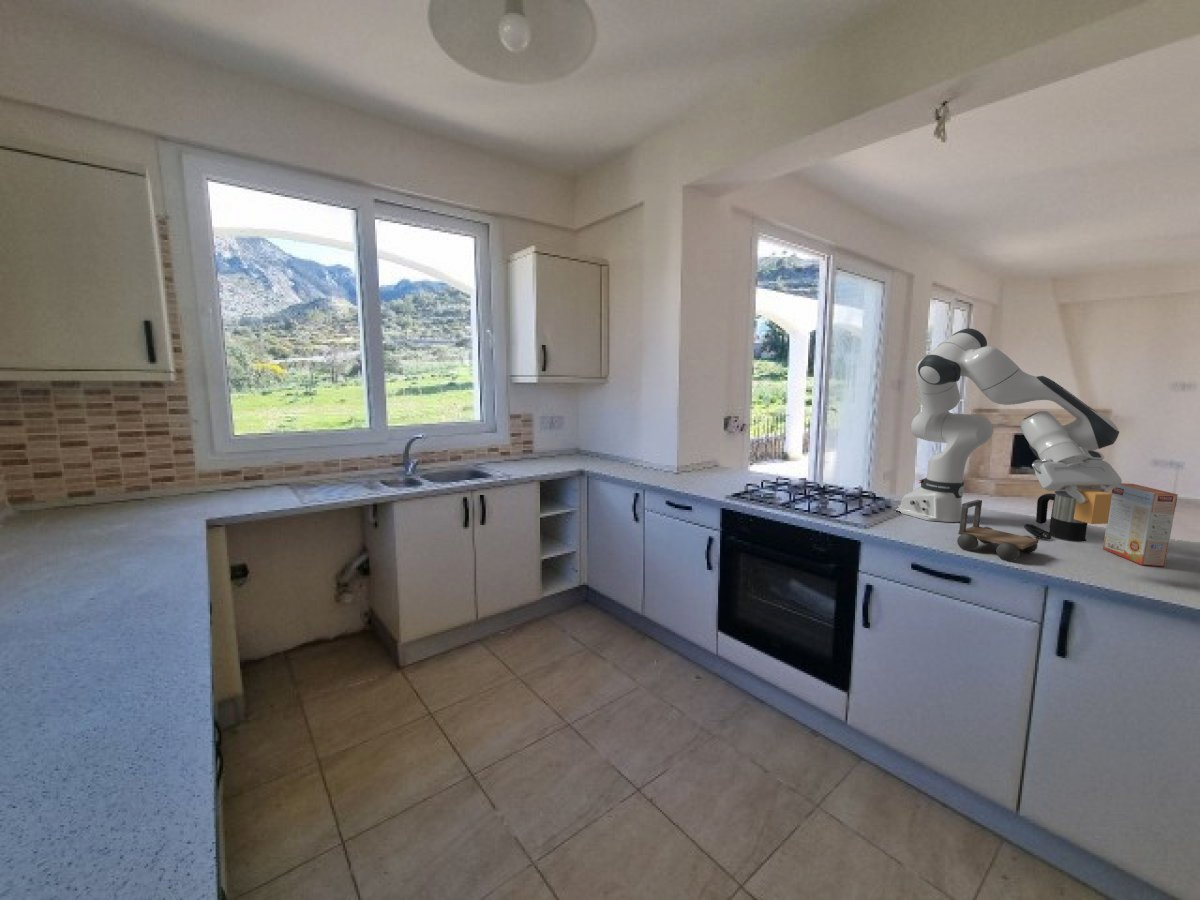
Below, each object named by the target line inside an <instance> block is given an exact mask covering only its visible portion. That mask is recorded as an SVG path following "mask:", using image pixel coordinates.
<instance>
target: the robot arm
mask: <svg viewBox="0 0 1200 900" xmlns="http://www.w3.org/2000/svg"><path fill="white" fill-rule="evenodd" d="M961 377H965V378H969V380H971V381H972V382H973V383H974V384H975V385H976V387H977V388H978V389H979V391H981V393H983V395H984V396H985V397H987V398H988V399H989V400H990V401H991V402H992V403H995V404H997V405H1004V406H1007V405H1008V406H1010V405H1011V406H1012V405H1020V404H1025V403H1029V402H1034V401H1050V402H1053V403H1055V404H1057V405H1058V406H1059V407H1061V408H1063V409H1064V410H1065V411H1066V412H1067V413H1069V414H1070V415H1072V416H1073V417H1075V419H1074V420H1073V421H1072V422H1069V423H1067V424H1065V425H1063V424H1061V422H1060V421H1059V420H1058V419H1057V418H1056V417H1055V416H1054V415H1053V414H1052V413H1050V412H1049V411H1047V410H1043V411H1038V412H1037V411H1036V412H1034V413H1032V414H1030V415H1028V416H1026V417H1025V418H1023V419H1022V420H1021V421H1020V422H1019V427H1020V429H1021V432H1022V434H1023V435H1024V438H1025V439H1026V440H1027V442H1028V445H1029V446H1028V447H1029V449H1030V450H1031V451H1032V453H1033V454H1034V456H1035V457H1036V460H1034V461H1033V462H1031V463H1032V464H1031V466H1032V469H1034V473H1035V476H1036V478H1037V480H1038V482H1039V484H1040V486H1041V487H1042V489H1044V490H1046V491H1047V492H1055V491H1066V492H1067V494H1069V495H1070V496H1072V497H1073V498H1075V499H1076V500H1077V501H1078V503H1079V504H1086V503H1087V502H1089V499H1088V498H1087V496H1086V495H1083V494H1081V493H1080V492H1079V491H1078V490H1096V491H1100V492H1105V493H1109V492H1108V491H1112V489H1114V488H1116V487H1117V486H1119V485H1120V484H1121V483H1122V478H1121V477H1120V475H1119V474H1118V472H1117V471H1116V470H1115V469H1114V468H1113V467H1112V465H1111V464H1110V463H1109V462H1108V461H1105V460H1103V459H1105V456H1104V455H1103V453H1101V452H1100V451H1097V450H1100V449H1103V448H1106V447H1108V446H1112V445H1115V442H1116V441H1117V439H1118V437H1119V435H1120V431H1119V428H1118V427H1117V425H1116V424H1115V423H1114V421H1112V420H1111V419H1110V418H1108V417H1106V415H1103V414H1101V413H1100V412H1097V410H1095V409H1093V408H1092V407H1090V406H1089V405H1087V404H1086V403H1085V402H1083V401H1082V400H1080V399H1079V397H1076V396H1075V395H1074V394H1073V393H1071V392H1070V391H1069V390H1067V389H1065V388H1064V387H1063V386H1062V385H1060V384H1059V383H1057V382H1055V381H1054V380H1053V379H1051V378H1049V377H1047V376H1045V375H1039V376H1038V375H1037V376H1034V375H1031V374H1029V373H1027V372H1025V371H1024V370H1022V369H1021V368H1020V367H1019V366H1018V365H1017V364H1016V363H1015V362H1014V361H1013V360H1012V359H1011V358H1010V357H1009V356H1008V355H1006V354H1005V353H1004V352H1002V351H1001V350H1000V349H998V348H997V347H995V346H991V345H988V341H987V338H986V336H985V334H983V333H982V332H980V331H979V330H977V329H974V328H969V327H968V328H963V329H961V330H958V331H956V332H954V333H953V334H952V335H951V336H950V337H948V338H946V339H945V340H943V341H942V342H941V343H939V344H938V345H937V346H936V347H935V348H934V349H933V350H931V352H930V353H929V354H928V355H926V356H925V357H923V358H921V359H920V360H919V361H918V362H917V364H916V365H915V378H916V384H917V387H918V391H919V394H920V398H921V402H922V410H921V412H919V413H917V415H916V416H915V417H913V419H912V421H911V425H910V429H911V433H912V435H913V436H914V437H915V438H917V439H920V440H924V441H927V442H932V443H933V442H934V443H943V444H946V446H945V448H944V450H943V451H940V452H937V453H935V454H933V455H931V457H930V458H929V459H928V461H927V462H928V463H927V471H926V472H927V474H926V477H925V478H921V480H918V481H919V482H918V484H920V487H918V488H915V489H914V490H912V491H910V492H908V493H906V494H904V495H903V497H902V499H901V500H900V504H899V505H897V506H898V507H899V508H897V509H896V510H898V511H900V512H901V513H900V514H903V515H906V516H910V517H914V518H916V519H917V518H918V519H921V520H925V521H929V522H945V523H946V522H947V523H948V522H949V523H959V522H960V520H961V511H962V504H963V503H962V500H963V499H962V498H963V494H964V491H965V490H964V489H965V482H964V473H965V470H966V464H967V461H968V459H969V457H970V456H971V454H972V453H973V452H974V451H975V450H976V449H977V448H979V447H980V446H983V445H985V444H986V443H987V442H988V441H989V440H990V439H991V438H992V436H993V432H994V427H993V424H992V422H991V421H990V420H989V418H988V417H984V416H981V415H975V414H968V413H952V412H950V411H951V410H953V409H954V408H956V407H957V406H958V405H959V402H961V401H960V400H961V393H960V390H959V386H958V383H957V382H958V381H960V379H961Z"/></svg>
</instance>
